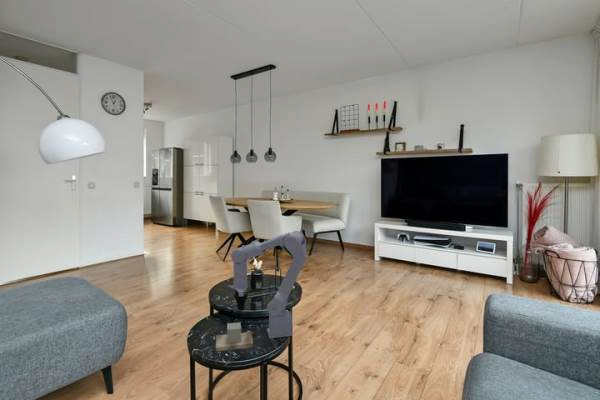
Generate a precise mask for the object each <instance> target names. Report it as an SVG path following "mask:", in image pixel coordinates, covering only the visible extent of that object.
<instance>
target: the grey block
mask: <svg viewBox="0 0 600 400" xmlns="http://www.w3.org/2000/svg"><path fill="white" fill-rule="evenodd" d="M226 329H227V330H226V334H227V344H229V343H238V342H241V333H242V325H241V321H240V322H231V323H230V322H228V323H227V326H226Z"/></svg>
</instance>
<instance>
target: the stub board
mask: <svg viewBox="0 0 600 400" xmlns="http://www.w3.org/2000/svg"><path fill="white" fill-rule="evenodd" d="M247 348H249V349H250V348H254V341H253V335H252V332H251V331H248V332H241V342H238V343H229V344H227V333H226V334H218V335H217V334H216V336H215V352H222V351H230V350H239V349H247Z"/></svg>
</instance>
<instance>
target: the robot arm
mask: <svg viewBox="0 0 600 400" xmlns="http://www.w3.org/2000/svg"><path fill="white" fill-rule="evenodd" d="M277 246H280V247H281V248H286V251H288V252H289V253H290V254H291V256H292V258H293V259H292V261H291V263H290V265H289V268H288V269H287V271H286V273H285V275H284V277H283V280H282V282H281V283H280V286H279V287H278V290H277V292H276V293H275V294H274V297H273V298H272V299H271V301H269V302H268V303H267V304H266V305H267V306H266V309H267V312H268V327H267V328H266V331H267V335H268V338H269V339H277V338H287V337H291V336H293V334H292V333H293V332H292V331H293V330H292V329H293V327H292V326H293V321H292V320H293V317H292V312H291V311H290V310H287V309H286V306H287V305H288V303H289V296H290V292H291V290H292V288H293V287H294V285H295V283H296V281H297V278H298V277H299V274H300V272H301V270H302V268H303V266H304V264H305V262H306V261H307V257H308V255H307V254H308V253H307V239H306V237H305V235H304V233H302V232H301V231H299V230H295V231H292V232H287V233H284V234H279V235H277V236H275V237H272V238H270V239H268V240H266V241H263V242H260V241H255V240H253V241H251V242H250V243H249V244H247V245H245V244H243V245H241V247H238V248H236V249H235V250H233V251H232V252H231V254H230V256H231V257H230V258H231V260H232V261H233V285H230V289H233V290H234V293H233V297H234V298H235V301H236V305H237V310H238V311H244V309H245V304H246V301H247V299H248V296H249V294H248V293H245V292H246V290H247V289H248V260H250V259H252V258H255V257H257V256H261V255H262V254H263V252H264V251H265V250H268V249H272V248H274V247H277Z"/></svg>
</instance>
